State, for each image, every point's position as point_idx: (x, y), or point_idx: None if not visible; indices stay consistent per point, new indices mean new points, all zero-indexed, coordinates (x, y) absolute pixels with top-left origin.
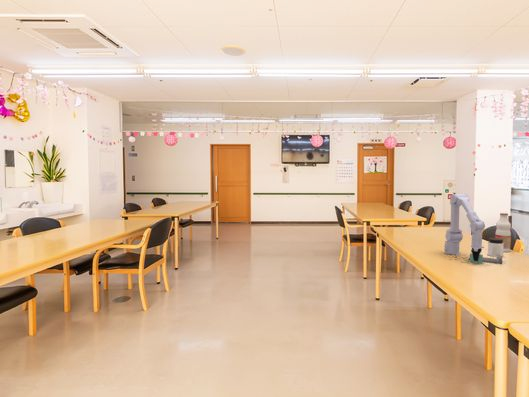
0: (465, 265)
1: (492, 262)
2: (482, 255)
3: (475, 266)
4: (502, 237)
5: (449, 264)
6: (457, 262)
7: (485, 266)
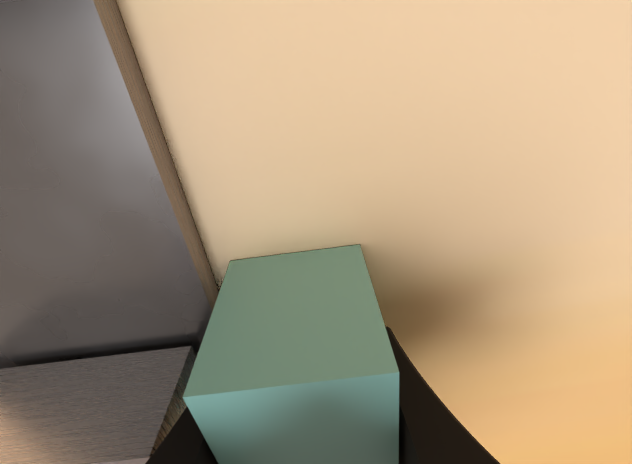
0: (587, 369)
1: (140, 98)
2: (307, 384)
3: (611, 280)
4: None
5: (591, 459)
6: None
7: (557, 161)
